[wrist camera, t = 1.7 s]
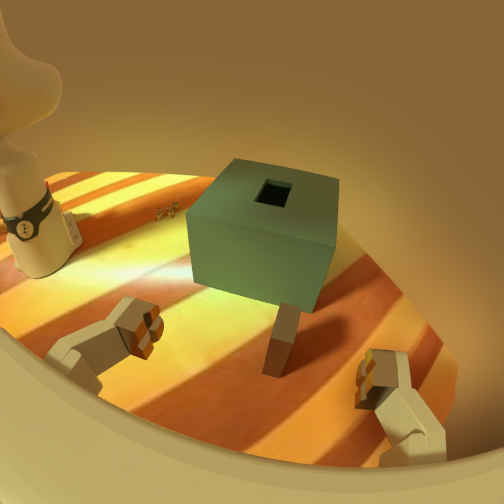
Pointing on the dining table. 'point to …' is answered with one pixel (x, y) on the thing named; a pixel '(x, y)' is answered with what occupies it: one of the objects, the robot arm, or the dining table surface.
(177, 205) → the dice set
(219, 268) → the coin box
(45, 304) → the dining table surface
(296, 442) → the dining table surface
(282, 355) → the brown upright bar
